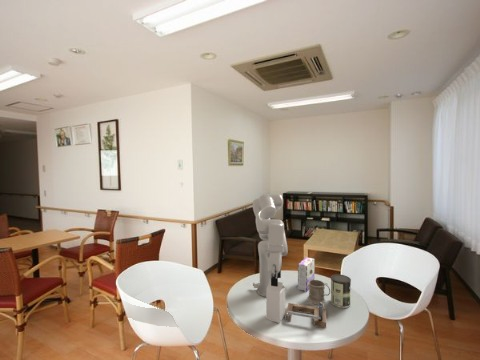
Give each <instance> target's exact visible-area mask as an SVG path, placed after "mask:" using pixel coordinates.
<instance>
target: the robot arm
mask: <svg viewBox="0 0 480 360" xmlns="http://www.w3.org/2000/svg"><path fill="white" fill-rule="evenodd" d="M283 205H284V198H283V196H282V194H280V193H264V194H261V195H260V196H259V198H255V199H254V200H253V202H252V210H253V213H254V216H255V227H256V230H257V233H258V236H259V238H260V240H261V241H259V242H258V244H257V249H258V250H257V251H258V256H259V259H258V260H259V282H258V283H257V282H252V286H253V288H254V289H256V292H257V294H258V295H259V296H261V297H266V289H267V286H268V284H269V279H271V286H276V287H277V286H278V281H279V279H281V278H282V270H281V268H282V264H283V263H282V257H285V256H287V255H288V251H289V250H288V243H287V237H286V232H285V223H284V222H283V220H282V219H279V218H273V217H275V215H276V213H277V211H279V210H280V209H282V207H283ZM272 218H273V219H272Z"/></svg>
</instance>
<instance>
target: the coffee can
mask: <svg viewBox="0 0 480 360" xmlns="http://www.w3.org/2000/svg"><path fill="white" fill-rule="evenodd" d="M351 283H352V279H351V277H349V276H348V275H344V274H340V273H339V274H337V273H335V274H332V275H331V276H330V303H331V304H332V306H335V307H337V308H341V309H343V308H344V309H346V308H347V309H348V308H349V307H350V306H351V290H352V289H351Z"/></svg>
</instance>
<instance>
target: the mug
mask: <svg viewBox="0 0 480 360" xmlns="http://www.w3.org/2000/svg"><path fill="white" fill-rule="evenodd" d="M325 286H326V287H327V289H328V294H326V293H325ZM308 293H309V294H308V295H307V298H306V299H307V301H308V302H310V303H311V304H314V305H319V302H323V305H324V304H325V303H326V298H325V296H330V295H331V287H330V286H329V284H328V283H326V282H324V281H322V280H319V279H314V280H311V281H309V290H308Z"/></svg>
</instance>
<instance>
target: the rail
mask: <svg viewBox="0 0 480 360" xmlns="http://www.w3.org/2000/svg"><path fill="white" fill-rule="evenodd" d="M290 314H291V315H292V316H298V317H304V318H310V319H314V318H315V319H321V317H320V316H316V315H314V314H311V313H305V312H299V311H288V313H287V322H290V321H289V315H290Z"/></svg>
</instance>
